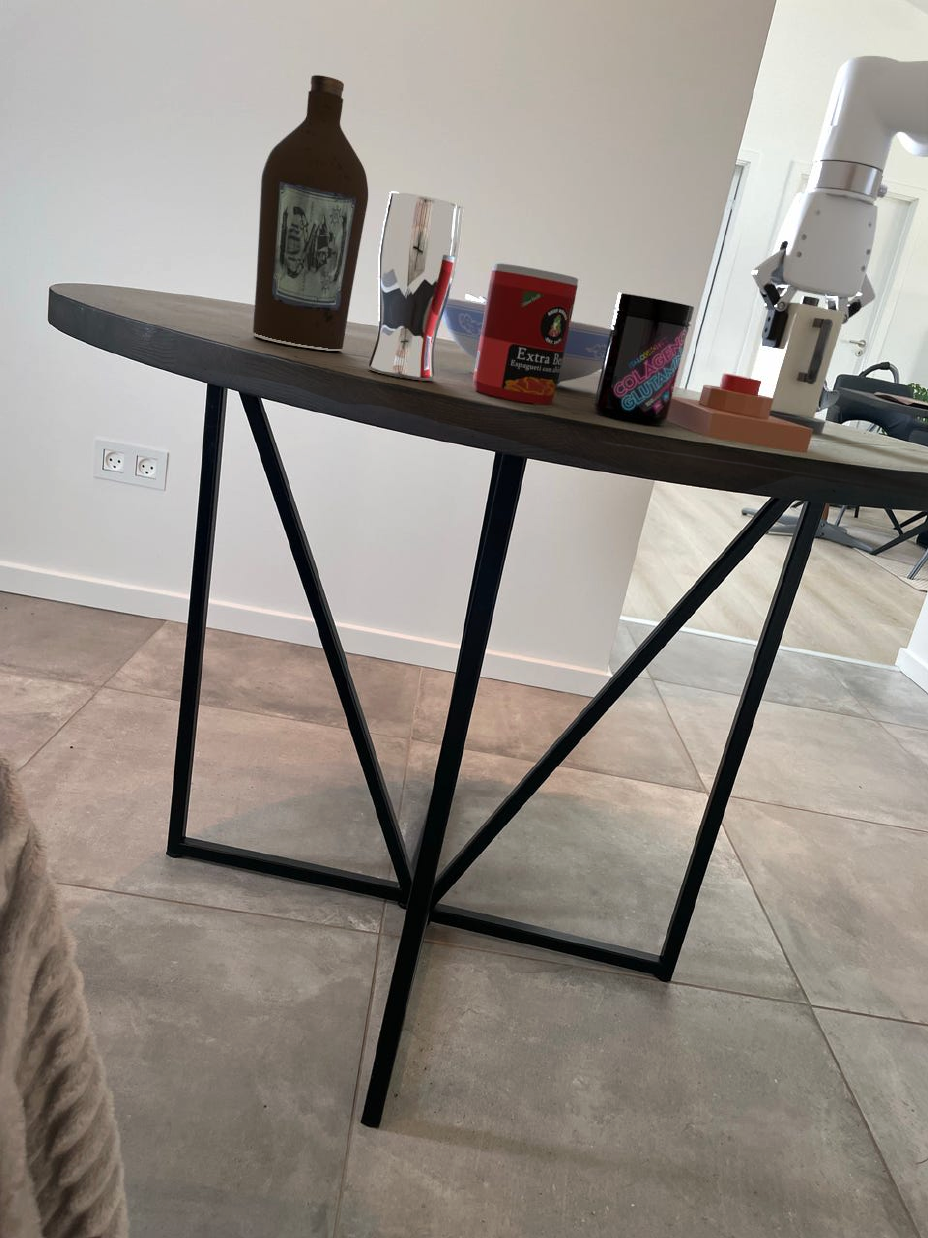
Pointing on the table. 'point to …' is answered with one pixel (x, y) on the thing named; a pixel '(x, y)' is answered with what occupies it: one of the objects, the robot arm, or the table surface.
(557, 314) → the canned food
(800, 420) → the kettle base
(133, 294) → the table surface
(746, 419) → the switch block
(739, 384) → the button
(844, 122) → the robot arm
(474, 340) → the ramen bowl
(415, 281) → the beer glass
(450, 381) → the table surface
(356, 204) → the olive oil
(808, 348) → the kettle
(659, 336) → the supplement container
